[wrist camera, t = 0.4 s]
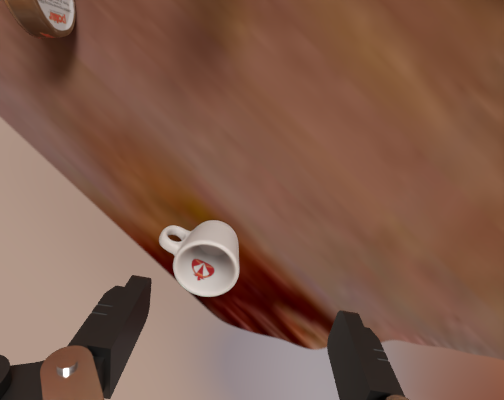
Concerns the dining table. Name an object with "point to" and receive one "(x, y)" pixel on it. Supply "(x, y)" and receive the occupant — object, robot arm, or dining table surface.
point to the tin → (44, 16)
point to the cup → (204, 257)
